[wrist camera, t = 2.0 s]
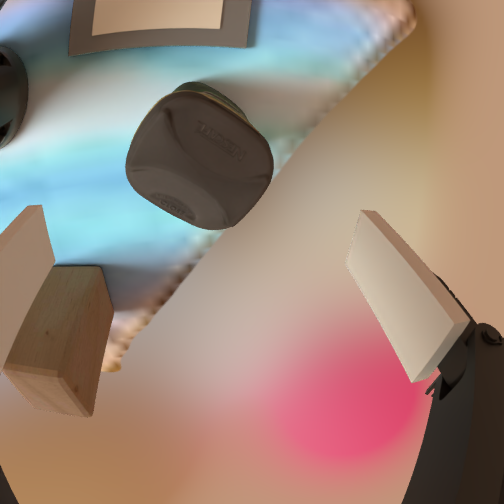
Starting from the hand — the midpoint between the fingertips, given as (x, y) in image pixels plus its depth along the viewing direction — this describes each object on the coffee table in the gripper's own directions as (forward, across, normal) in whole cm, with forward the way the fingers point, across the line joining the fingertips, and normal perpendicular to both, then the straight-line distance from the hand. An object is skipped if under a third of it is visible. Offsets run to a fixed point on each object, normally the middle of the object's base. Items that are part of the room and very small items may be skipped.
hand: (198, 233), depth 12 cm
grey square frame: (+25, -6, +19) cm, 32 cm away
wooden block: (+25, -19, -25) cm, 40 cm away
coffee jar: (+25, 0, 0) cm, 25 cm away
